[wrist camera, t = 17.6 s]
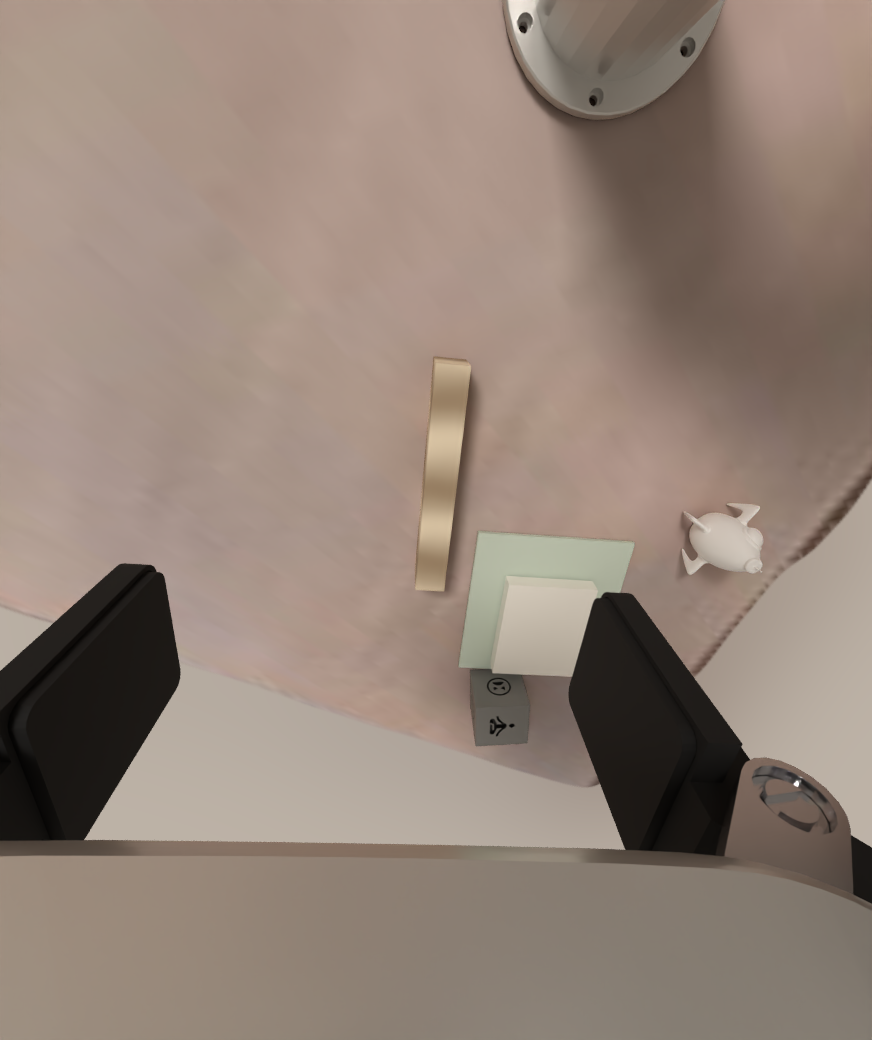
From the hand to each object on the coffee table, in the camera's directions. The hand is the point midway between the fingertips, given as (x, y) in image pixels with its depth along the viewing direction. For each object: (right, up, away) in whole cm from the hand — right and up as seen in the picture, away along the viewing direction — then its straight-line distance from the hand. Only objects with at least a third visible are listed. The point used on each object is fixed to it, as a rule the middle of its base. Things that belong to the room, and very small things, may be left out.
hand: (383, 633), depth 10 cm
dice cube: (+7, -15, +39) cm, 42 cm away
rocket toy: (+25, +2, +32) cm, 40 cm away
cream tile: (+11, -3, +32) cm, 34 cm away
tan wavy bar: (+1, +6, +29) cm, 29 cm away
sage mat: (+11, -6, +34) cm, 37 cm away
